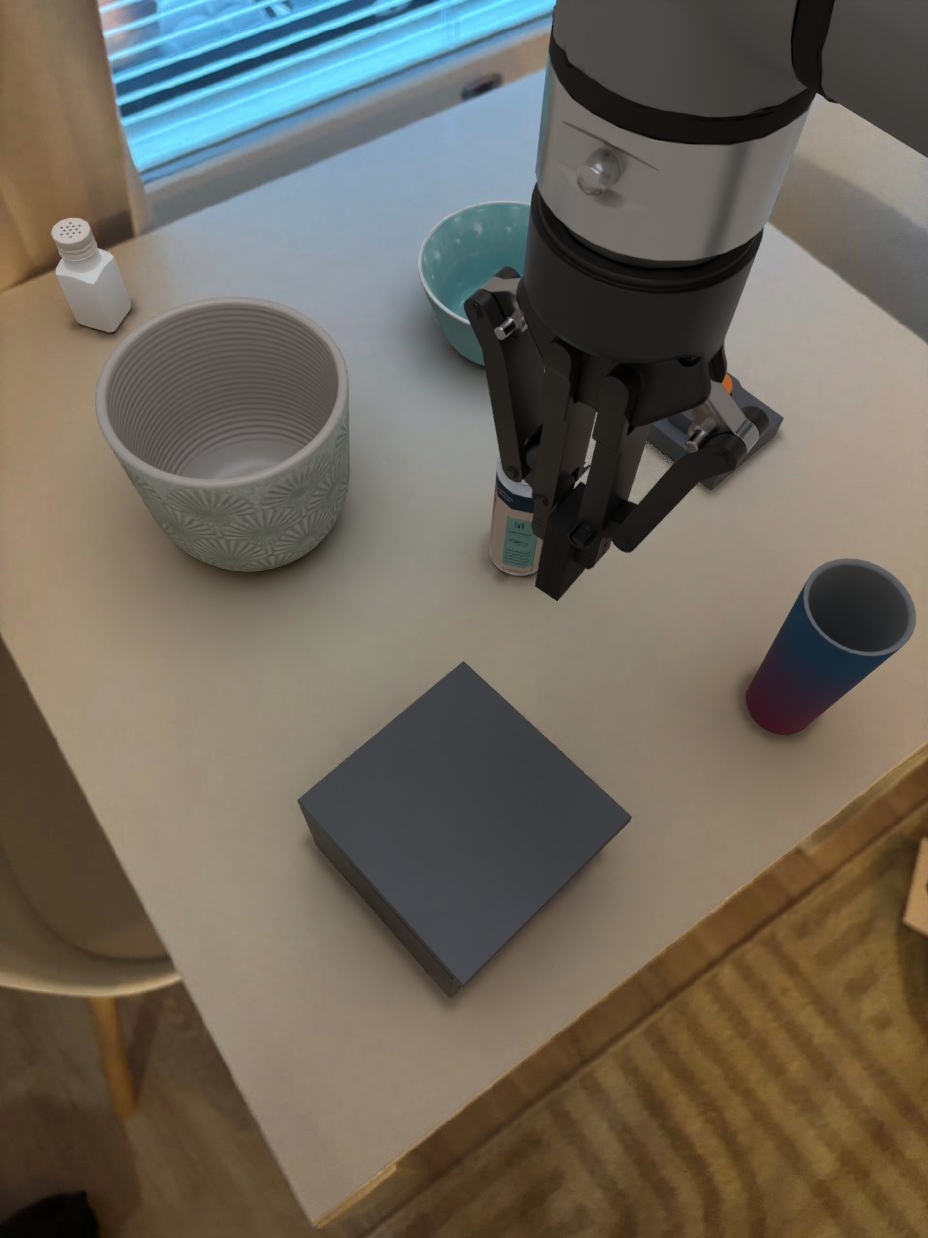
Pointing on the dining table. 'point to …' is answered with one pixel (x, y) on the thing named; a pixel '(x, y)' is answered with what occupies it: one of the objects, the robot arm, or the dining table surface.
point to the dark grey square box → (384, 911)
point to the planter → (232, 428)
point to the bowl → (470, 262)
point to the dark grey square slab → (464, 819)
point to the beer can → (513, 527)
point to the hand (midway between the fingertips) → (560, 576)
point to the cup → (830, 643)
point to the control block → (674, 429)
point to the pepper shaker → (89, 277)
